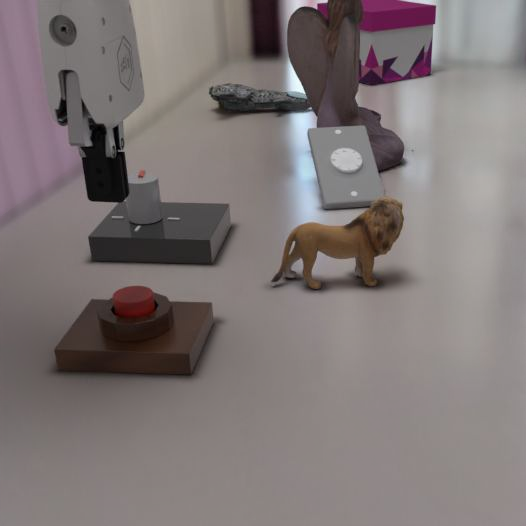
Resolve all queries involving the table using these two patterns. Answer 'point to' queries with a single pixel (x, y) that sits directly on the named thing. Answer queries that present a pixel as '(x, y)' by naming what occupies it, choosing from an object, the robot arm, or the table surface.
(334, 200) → the light switch
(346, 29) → the figurine
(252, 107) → the jagged slate chunk
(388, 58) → the decorative box
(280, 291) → the table surface
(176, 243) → the dark grey dial base
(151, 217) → the knob
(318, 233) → the lion figurine
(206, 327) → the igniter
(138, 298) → the button
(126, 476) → the table surface
